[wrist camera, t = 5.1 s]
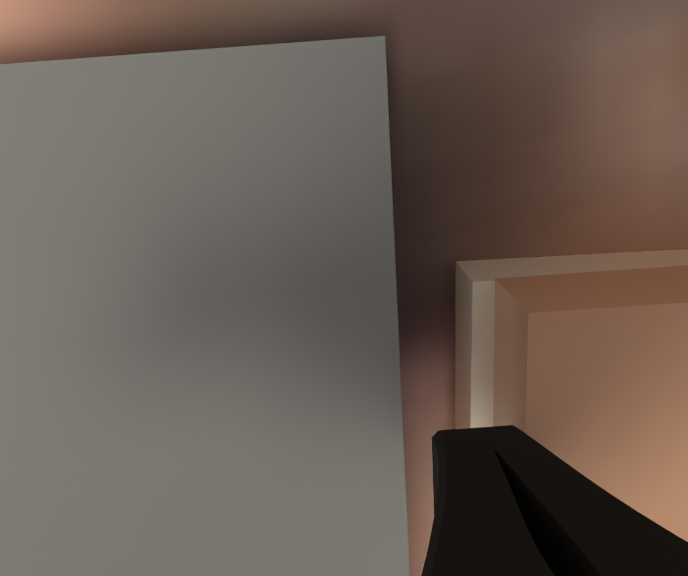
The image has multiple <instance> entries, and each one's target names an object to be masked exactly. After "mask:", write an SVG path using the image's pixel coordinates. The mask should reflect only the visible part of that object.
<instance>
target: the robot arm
mask: <svg viewBox="0 0 688 576" xmlns="http://www.w3.org/2000/svg"><path fill="white" fill-rule="evenodd" d="M432 454H433V487H434V522H433V527H432V532H431V537H430V542H429V547H428V552H427V556H426V560H425V564H424V568H423V572H422V575H421V576H688V542H687V541H685V540H683V539H682V538H680V537H678V536H677V535H675V534H673V533H672V532H670V531H668V530H667V529H665V528H664V527H662V526H660V525H659V524H657V523H655V522H654V521H652V520H651V519H649V518H647V517H646V516H644V515H642V514H641V513H639V512H638V511H636V510H634V509H633V508H631V507H630V506H628V505H627V504H625V503H624V502H622V501H621V500H619V499H618V498H616V497H614V496H613V495H611V494H610V493H609V492H607V491H606V490H604V489H603V488H601V487H600V486H598V485H597V484H595V483H594V482H592V481H591V480H590V479H588V478H587V477H585V476H584V475H582V474H581V473H580V472H578V471H577V470H575V469H574V468H573V467H571V466H570V465H568V464H567V463H566V462H564V461H563V460H562V459H560V458H559V457H557V456H556V455H555V454H553V453H552V452H550V451H549V450H548V449H546V448H545V447H544V446H542V445H541V444H540V443H538V442H537V441H535V440H534V439H533V438H531V437H530V436H529V435H527V434H526V433H524V432H523V431H521V430H520V429H518V428H517V427H515V426H514V425H507V426H493V427H479V428H466V429H452V430H439V431H438V432H437V433H436V434H435V435H434V436H433V437H432Z"/></svg>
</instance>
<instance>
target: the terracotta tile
mask: <svg viewBox="0 0 688 576" xmlns="http://www.w3.org/2000/svg"><path fill="white" fill-rule="evenodd" d="M507 425H514V426H515V427H517V428H518V429H520V430H521V431H523V432H524V433H526V434H527V435H529V436H530V437H531V438H533V439H534V440H535V441H537V442H538V443H540V444H541V445H542V446H544V447H545V448H546V449H548V450H549V451H550V452H552V453H553V454H555V455H556V456H557V457H559V458H560V459H562V460H563V461H564V462H566V463H567V464H568V465H570V466H571V467H573V468H574V469H575V470H577V471H578V472H580V473H581V474H582V475H584V476H585V477H587V478H588V479H590V480H591V481H592V482H594V483H595V484H597V485H598V486H600V487H601V488H603V489H604V490H606V491H607V492H609V493H610V494H611V495H613V496H614V497H616V498H618V499H619V500H621V501H622V502H624V503H625V504H627V505H628V506H630V507H631V508H633V509H634V510H636V511H638V512H639V513H641V514H642V515H644V516H646V517H647V518H649V519H651V520H652V521H654V522H655V523H657V524H659V525H660V526H662V527H664V528H665V529H667V530H668V531H670V532H672V533H673V534H675V535H677V536H678V537H680V538H682V539H683V540H685V541H687V542H688V265H685V266H671V267H656V268H641V269H627V270H612V271H597V272H582V273H568V274H553V275H538V276H524V277H509V278H495V315H494V411H493V426H507Z"/></svg>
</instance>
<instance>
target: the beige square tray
mask: <svg viewBox="0 0 688 576" xmlns="http://www.w3.org/2000/svg"><path fill="white" fill-rule="evenodd" d="M685 265H688V250H686V249H675V250H657V251H639V252H620V253H602V254H583V255H565V256H546V257H528V258H509V259H491V260H472V261H456V320H455V429H466V428H479V427H493V411H494V315H495V278H509V277H524V276H538V275H553V274H568V273H582V272H597V271H612V270H627V269H641V268H656V267H671V266H685Z"/></svg>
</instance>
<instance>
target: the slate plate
mask: <svg viewBox="0 0 688 576" xmlns="http://www.w3.org/2000/svg"><path fill="white" fill-rule="evenodd" d="M0 576H410V568H409V546H408V524H407V503H406V481H405V459H404V437H403V415H402V393H401V372H400V350H399V328H398V306H397V284H396V262H395V240H394V219H393V197H392V175H391V153H390V131H389V109H388V88H387V66H386V44H385V36H374V37H361V38H347V39H334V40H320V41H307V42H293V43H280V44H266V45H253V46H239V47H226V48H212V49H199V50H185V51H172V52H158V53H145V54H131V55H118V56H104V57H90V58H77V59H63V60H50V61H36V62H23V63H9V64H0Z"/></svg>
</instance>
